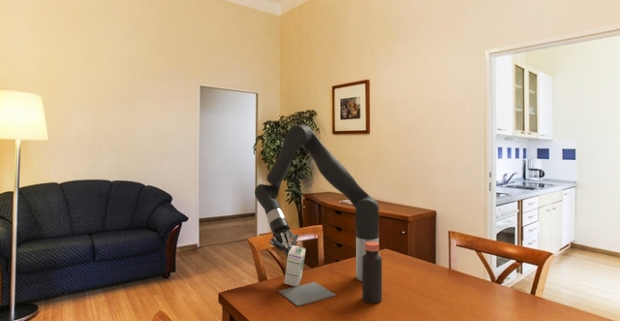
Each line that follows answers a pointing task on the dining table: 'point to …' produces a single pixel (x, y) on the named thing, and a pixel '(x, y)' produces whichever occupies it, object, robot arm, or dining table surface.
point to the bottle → (372, 273)
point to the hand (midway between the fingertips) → (291, 257)
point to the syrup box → (294, 265)
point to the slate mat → (306, 293)
